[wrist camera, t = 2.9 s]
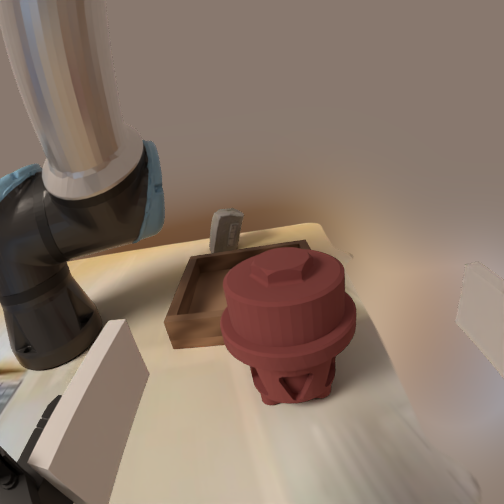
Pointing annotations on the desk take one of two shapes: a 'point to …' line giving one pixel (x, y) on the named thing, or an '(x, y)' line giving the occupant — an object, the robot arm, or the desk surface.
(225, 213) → the mineral specimen
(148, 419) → the desk surface
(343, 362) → the desk surface
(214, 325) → the walnut tray
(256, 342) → the mechanical component
